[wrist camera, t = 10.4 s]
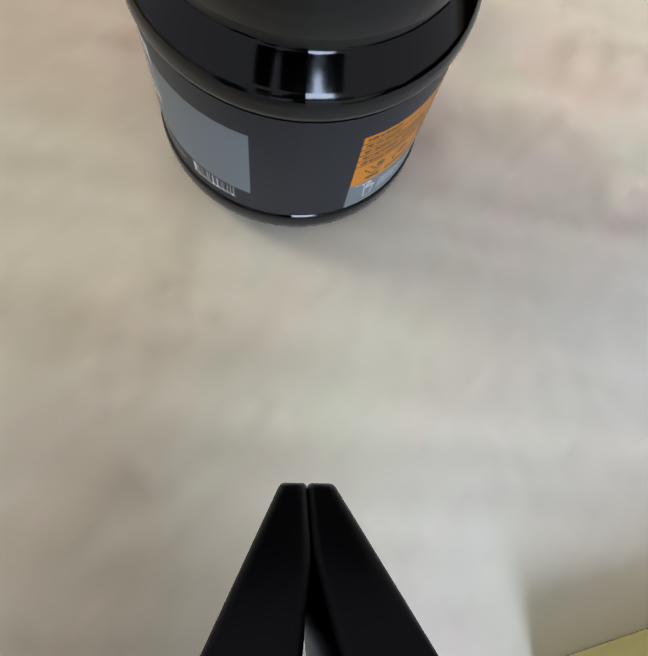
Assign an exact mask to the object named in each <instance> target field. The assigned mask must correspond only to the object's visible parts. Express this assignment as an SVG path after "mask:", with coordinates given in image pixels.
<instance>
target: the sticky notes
mask: <svg viewBox="0 0 648 656" xmlns="http://www.w3.org/2000/svg"><path fill="white" fill-rule="evenodd" d="M568 656H648V628H647V629H644V630H641V631H638V632H636V633H633V634H630V635H627V636H624V637H621V638H618V639H615V640H612V641H609V642H606V643H603V644H601V645H598V646H595V647H592V648H589V649H586V650H583V651H580V652H577V653H574V654H571V655H568Z"/></svg>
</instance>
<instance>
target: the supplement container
mask: <svg viewBox="0 0 648 656" xmlns="http://www.w3.org/2000/svg"><path fill="white" fill-rule="evenodd" d="M125 1H126V4H127V6H128V9H129V10H130V12H131V14H132V16H133V18H134V20H135V22H136V24H137V28H138V31H139V35H140V38H141V41H142V45H143V48H144V52H145V55H146V59H147V62H148V66H149V69H150V72H151V76H152V79H153V83H154V86H155V90H156V93H157V97H158V100H159V103H160V107H161V114H162V120H163V124H164V128H165V132H166V135H167V138H168V140H169V143H170V146H171V148H172V150H173V152H174V154H175V156H176V158H177V160H178V161H179V163H180V164H181V166H182V168H183V169H184V171H185V172H186V173H187V174H188V176H189V177H190V178H191V179H192V181H193V182H194V183H195V184H196V185H197V186H198V187H199V188H200V189H201V190H202V191H203V192H205V193H206V194H207V195H208V196H210V197H211V198H212V199H213V200H215V201H216V202H218V203H219V204H221V205H222V206H224V207H225V208H227V209H229V210H231V211H233V212H235V213H237V214H239V215H241V216H244V217H246V218H249V219H252V220H255V221H259V222H262V223H267V224H272V225H278V226H289V227H304V226H314V225H320V224H325V223H330V222H333V221H336V220H339V219H342V218H345V217H347V216H349V215H351V214H354V213H356V212H357V211H359V210H361V209H363V208H364V207H366V206H367V205H369V204H370V203H372V202H373V201H374V200H376V199H377V198H378V197H379V196H380V195H381V194H382V193H383V192H385V191H386V189H387V188H388V187H389V186H390V185H391V184H392V183H393V181H394V180H395V179H396V177H397V176H398V174H399V173H400V172H401V170H402V168H403V166H404V164H405V163H406V161H407V159H408V157H409V154H410V152H411V149H412V147H413V144H414V140H415V137H416V135H417V133H418V131H419V129H420V127H421V125H422V122H423V120H424V118H425V116H426V114H427V112H428V110H429V108H430V106H431V103H432V101H433V99H434V97H435V95H436V93H437V91H438V89H439V87H440V84H441V82H442V80H443V78H444V76H445V74H446V72H447V70H448V68H449V65H450V64H451V63H452V62H453V60H454V59H455V58H456V56H457V55H458V53H459V52H460V50H461V49H462V47H463V45H464V44H465V42H466V40H467V38H468V36H469V34H470V32H471V30H472V28H473V26H474V23H475V20H476V18H477V15H478V12H479V9H480V5H481V1H482V0H125Z"/></svg>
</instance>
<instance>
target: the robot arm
mask: <svg viewBox="0 0 648 656" xmlns="http://www.w3.org/2000/svg"><path fill="white" fill-rule="evenodd" d="M304 642H305V652H306V656H438V654H437V652H436V651H435V649H434V648H433V646H432V644H431V643H430V641H429V639H428V638H427V636H426V634H425V633H424V631H423V629H422V628H421V626H420V625H419V623H418V621H417V620H416V618H415V616H414V615H413V613H412V611H411V610H410V608H409V607H408V605H407V603H406V602H405V600H404V598H403V597H402V595H401V593H400V592H399V590H398V589H397V587H396V585H395V584H394V582H393V580H392V579H391V577H390V575H389V574H388V572H387V571H386V569H385V567H384V566H383V564H382V562H381V561H380V559H379V557H378V556H377V554H376V553H375V551H374V549H373V548H372V546H371V544H370V543H369V541H368V539H367V538H366V536H365V535H364V533H363V531H362V530H361V528H360V526H359V525H358V523H357V521H356V520H355V518H354V517H353V515H352V513H351V512H350V510H349V508H348V507H347V505H346V503H345V502H344V500H343V499H342V497H341V495H340V494H339V492H338V490H337V489H336V487H335V486H334V485H332V484H325V483H311V484H309V485H308V486H307V487H306V485H305V484H304V483H282V484H281V485H280V486H279V487H278V489H277V492H276V494H275V496H274V498H273V500H272V502H271V504H270V507H269V509H268V511H267V513H266V515H265V517H264V519H263V522H262V524H261V526H260V528H259V530H258V532H257V534H256V537H255V539H254V541H253V543H252V545H251V547H250V549H249V552H248V554H247V556H246V558H245V560H244V562H243V565H242V567H241V569H240V571H239V573H238V575H237V577H236V580H235V582H234V584H233V586H232V588H231V590H230V592H229V595H228V597H227V599H226V601H225V603H224V605H223V607H222V610H221V612H220V614H219V616H218V618H217V620H216V623H215V625H214V627H213V629H212V631H211V633H210V635H209V638H208V640H207V642H206V644H205V646H204V648H203V650H202V653H201V655H200V656H302V653H303V643H304Z"/></svg>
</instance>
